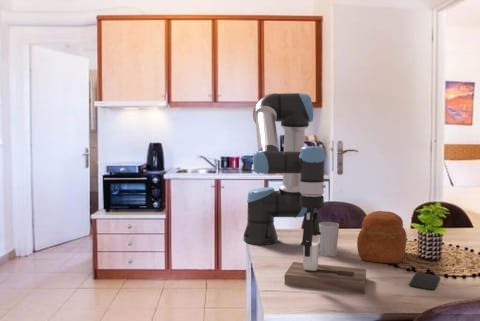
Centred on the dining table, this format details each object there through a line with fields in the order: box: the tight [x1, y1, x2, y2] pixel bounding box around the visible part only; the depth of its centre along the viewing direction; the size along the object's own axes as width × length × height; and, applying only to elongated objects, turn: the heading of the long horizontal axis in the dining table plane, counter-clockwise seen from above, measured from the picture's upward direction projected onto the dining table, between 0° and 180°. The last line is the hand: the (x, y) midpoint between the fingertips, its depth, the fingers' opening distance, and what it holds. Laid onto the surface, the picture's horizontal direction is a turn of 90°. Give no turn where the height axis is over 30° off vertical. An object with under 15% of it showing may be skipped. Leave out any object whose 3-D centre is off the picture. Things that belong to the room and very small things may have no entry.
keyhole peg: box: [304, 242, 319, 272], centre depth 137 cm, size 4×4×12 cm
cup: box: [318, 221, 340, 257], centre depth 167 cm, size 8×8×12 cm
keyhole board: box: [284, 261, 367, 294], centre depth 136 cm, size 14×24×3 cm, turn 72°
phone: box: [408, 272, 441, 291], centre depth 136 cm, size 7×1×15 cm
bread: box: [356, 210, 408, 264], centre depth 165 cm, size 18×22×17 cm
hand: (311, 260), depth 137 cm, fingers open, 13 cm apart
